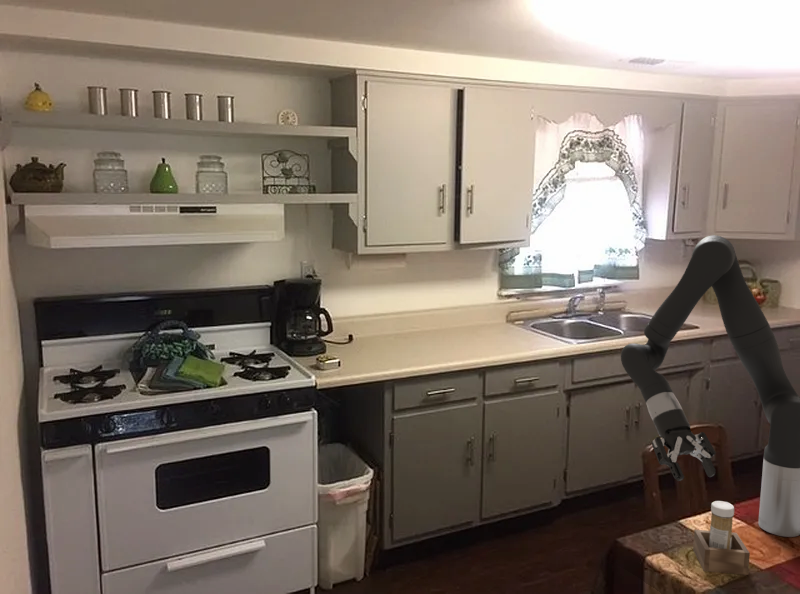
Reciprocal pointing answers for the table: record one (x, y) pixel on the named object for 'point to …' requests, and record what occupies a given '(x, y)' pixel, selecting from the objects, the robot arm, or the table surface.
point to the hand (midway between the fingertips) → (696, 477)
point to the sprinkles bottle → (721, 525)
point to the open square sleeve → (721, 554)
